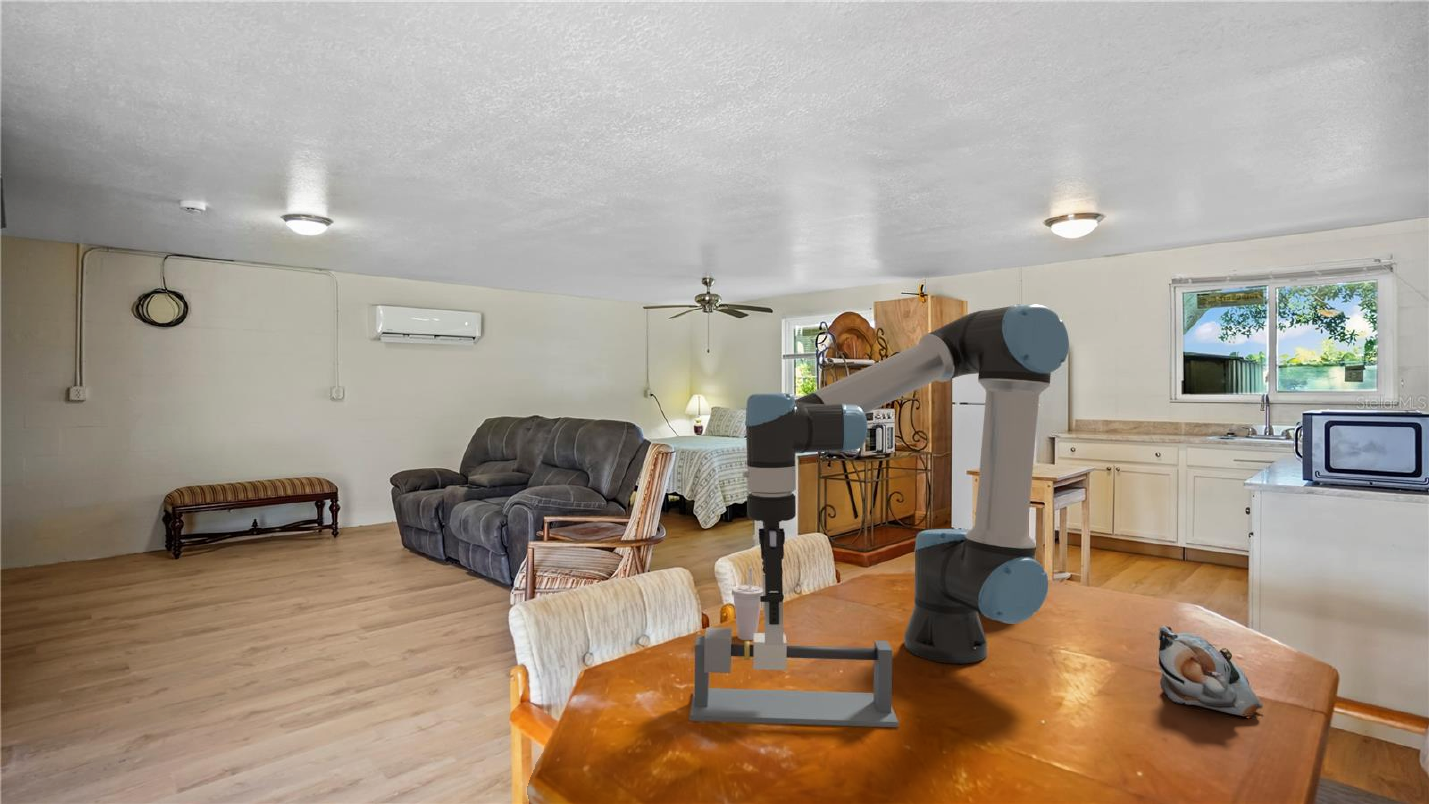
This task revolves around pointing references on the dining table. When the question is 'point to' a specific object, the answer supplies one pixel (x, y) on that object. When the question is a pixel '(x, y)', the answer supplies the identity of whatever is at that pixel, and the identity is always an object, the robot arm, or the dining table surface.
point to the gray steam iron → (1203, 675)
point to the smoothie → (747, 608)
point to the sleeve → (769, 654)
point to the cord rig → (790, 704)
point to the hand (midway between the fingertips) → (772, 628)
